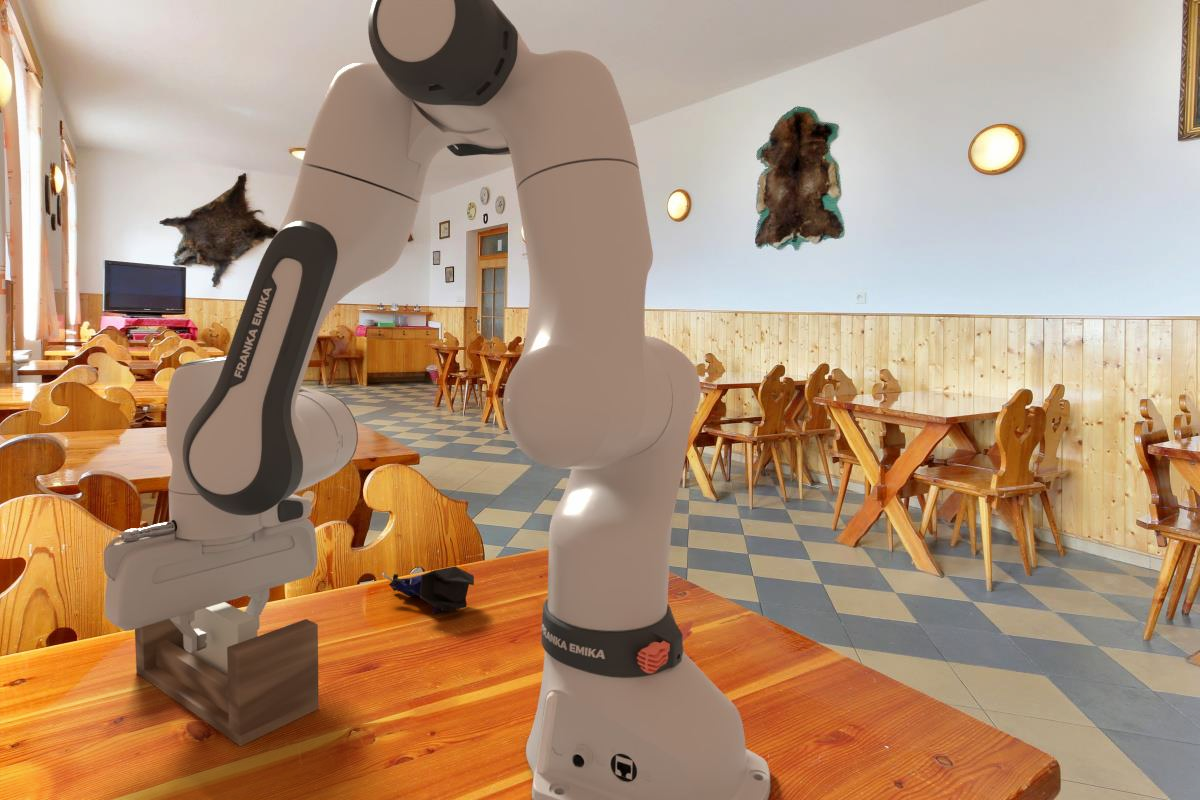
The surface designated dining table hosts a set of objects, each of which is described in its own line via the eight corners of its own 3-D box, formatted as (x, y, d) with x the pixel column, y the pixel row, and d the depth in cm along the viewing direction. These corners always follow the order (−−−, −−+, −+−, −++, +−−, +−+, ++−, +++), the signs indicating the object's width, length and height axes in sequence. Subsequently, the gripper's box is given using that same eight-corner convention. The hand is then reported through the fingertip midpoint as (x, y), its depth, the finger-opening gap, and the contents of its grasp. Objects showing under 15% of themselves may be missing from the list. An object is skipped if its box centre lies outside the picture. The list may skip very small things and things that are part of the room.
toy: (429, 571, 106) (491, 569, 96) (423, 614, 104) (486, 617, 94) (376, 564, 100) (437, 561, 90) (368, 610, 98) (430, 612, 88)
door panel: (258, 692, 71) (257, 618, 70) (239, 700, 69) (237, 624, 69) (210, 663, 77) (208, 594, 76) (191, 670, 75) (189, 599, 74)
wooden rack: (318, 708, 70) (317, 624, 69) (240, 746, 64) (238, 653, 63) (211, 646, 83) (209, 574, 82) (136, 672, 76) (133, 594, 75)
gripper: (117, 541, 61) (123, 690, 62) (324, 499, 78) (326, 616, 79) (89, 528, 64) (95, 668, 66) (293, 490, 81) (294, 603, 83)
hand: (222, 639), depth 73 cm, fingers open, 4 cm apart
